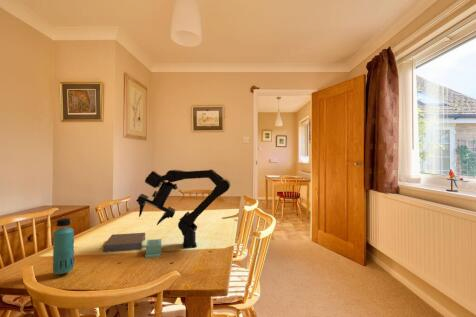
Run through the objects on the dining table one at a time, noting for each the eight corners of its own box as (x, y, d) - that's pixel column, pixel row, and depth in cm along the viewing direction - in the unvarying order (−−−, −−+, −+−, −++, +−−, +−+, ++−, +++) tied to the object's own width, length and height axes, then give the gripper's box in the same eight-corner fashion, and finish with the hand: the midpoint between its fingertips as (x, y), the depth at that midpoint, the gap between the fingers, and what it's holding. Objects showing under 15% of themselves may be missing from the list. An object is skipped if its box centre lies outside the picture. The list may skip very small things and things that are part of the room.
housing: (160, 256, 107) (160, 246, 107) (145, 258, 106) (145, 247, 106) (161, 247, 119) (161, 237, 119) (148, 248, 118) (148, 238, 118)
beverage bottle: (57, 280, 86) (57, 222, 86) (48, 275, 90) (49, 219, 90) (77, 272, 92) (78, 218, 92) (68, 268, 95) (69, 216, 95)
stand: (141, 249, 116) (141, 242, 116) (103, 252, 112) (103, 245, 112) (145, 238, 131) (145, 232, 131) (112, 240, 128) (112, 234, 128)
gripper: (181, 197, 132) (167, 222, 132) (148, 180, 128) (134, 207, 128) (180, 203, 121) (164, 231, 121) (144, 185, 117) (128, 214, 117)
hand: (148, 220), depth 122 cm, fingers open, 9 cm apart
